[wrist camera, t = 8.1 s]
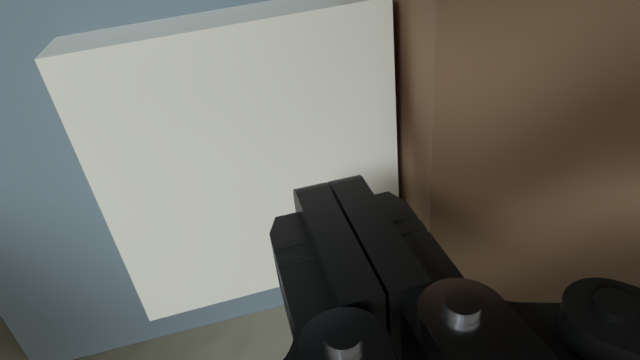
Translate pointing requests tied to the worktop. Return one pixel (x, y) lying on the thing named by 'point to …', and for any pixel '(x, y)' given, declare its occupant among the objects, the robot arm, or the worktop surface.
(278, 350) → the worktop surface
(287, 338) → the worktop surface
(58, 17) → the mat
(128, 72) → the coaster
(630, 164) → the stand
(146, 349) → the worktop surface
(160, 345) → the worktop surface
